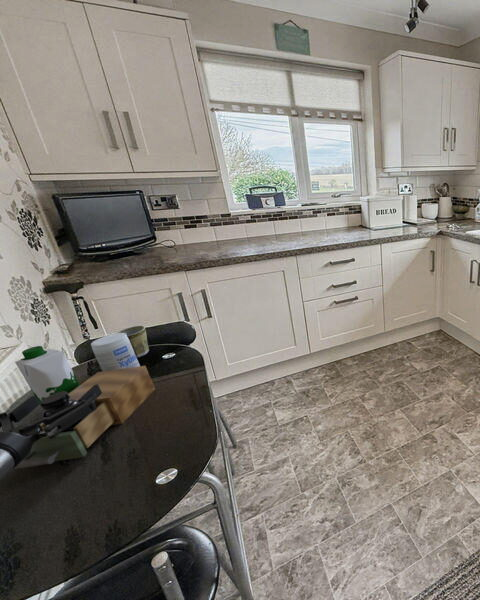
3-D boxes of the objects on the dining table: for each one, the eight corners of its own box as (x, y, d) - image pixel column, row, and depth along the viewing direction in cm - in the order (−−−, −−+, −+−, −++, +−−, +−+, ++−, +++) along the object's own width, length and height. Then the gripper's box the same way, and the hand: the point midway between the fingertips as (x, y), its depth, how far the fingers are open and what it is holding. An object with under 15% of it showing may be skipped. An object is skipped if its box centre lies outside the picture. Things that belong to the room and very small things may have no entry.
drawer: (68, 472, 74) (54, 448, 71) (8, 481, 72) (-9, 458, 70) (124, 415, 91) (114, 395, 89) (76, 422, 90) (64, 402, 88)
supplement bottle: (78, 425, 87) (57, 388, 82) (100, 426, 86) (81, 388, 82) (50, 446, 80) (26, 406, 76) (74, 446, 79) (51, 406, 75)
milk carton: (77, 396, 104) (47, 341, 97) (94, 401, 101) (64, 344, 93) (41, 415, 96) (6, 356, 89) (58, 420, 93) (23, 360, 86)
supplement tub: (133, 381, 109) (115, 343, 104) (101, 387, 108) (81, 348, 102) (147, 366, 118) (132, 330, 113) (118, 371, 117) (101, 335, 111)
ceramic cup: (158, 350, 130) (149, 328, 126) (128, 363, 122) (118, 339, 118) (144, 344, 136) (135, 322, 133) (115, 355, 129) (105, 333, 125)
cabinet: (122, 423, 89) (109, 397, 86) (68, 431, 88) (52, 405, 85) (155, 389, 104) (145, 365, 101) (109, 395, 103) (97, 371, 100)
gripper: (-78, 491, 62) (15, 417, 81) (75, 458, 67) (128, 396, 86) (-103, 462, 59) (0, 393, 79) (58, 429, 64) (117, 372, 84)
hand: (67, 394), depth 82 cm, fingers open, 13 cm apart
